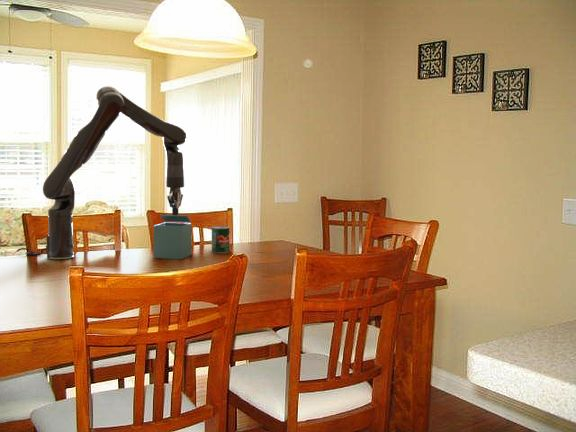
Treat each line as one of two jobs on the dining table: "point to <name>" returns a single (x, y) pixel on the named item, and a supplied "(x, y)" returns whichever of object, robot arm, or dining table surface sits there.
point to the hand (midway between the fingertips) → (175, 217)
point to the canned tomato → (220, 239)
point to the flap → (175, 218)
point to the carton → (172, 240)
